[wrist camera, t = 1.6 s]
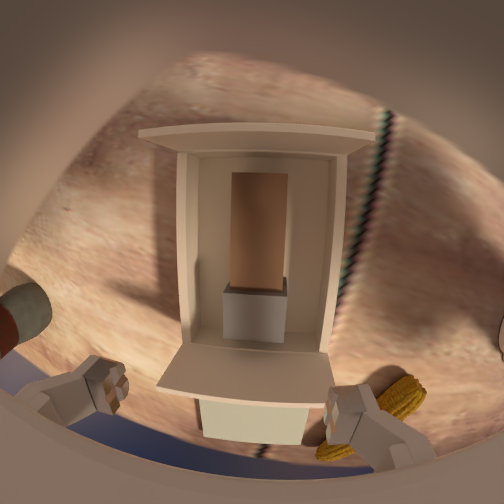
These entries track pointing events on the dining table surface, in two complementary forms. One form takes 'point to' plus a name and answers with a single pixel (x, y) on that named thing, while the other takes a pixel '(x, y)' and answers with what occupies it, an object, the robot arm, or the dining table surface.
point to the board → (253, 423)
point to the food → (392, 401)
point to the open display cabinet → (295, 258)
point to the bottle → (22, 315)
